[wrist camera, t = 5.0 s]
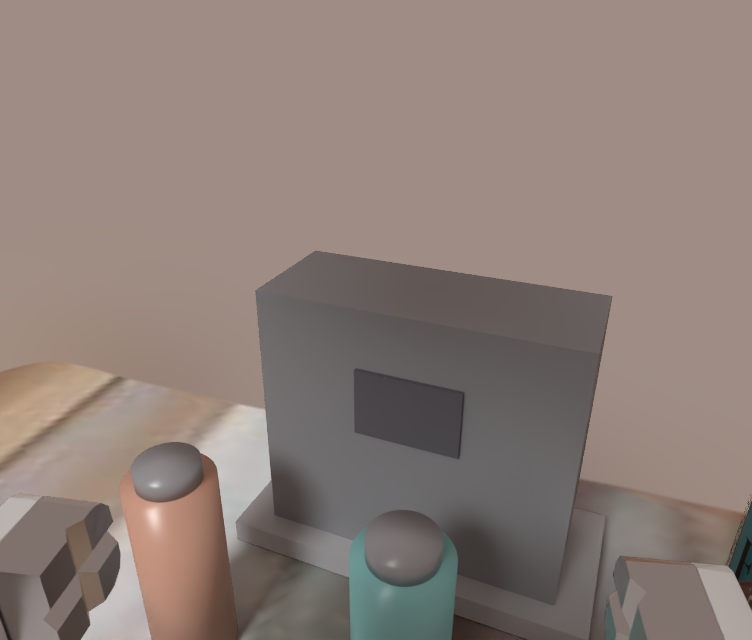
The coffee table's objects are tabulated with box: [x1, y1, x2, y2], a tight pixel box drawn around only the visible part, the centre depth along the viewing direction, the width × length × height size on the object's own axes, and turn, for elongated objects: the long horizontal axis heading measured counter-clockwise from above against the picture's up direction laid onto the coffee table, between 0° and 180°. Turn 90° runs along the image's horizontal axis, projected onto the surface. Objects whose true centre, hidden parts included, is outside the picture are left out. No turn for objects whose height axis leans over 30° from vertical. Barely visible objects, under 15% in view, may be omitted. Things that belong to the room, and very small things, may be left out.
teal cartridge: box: [349, 510, 458, 640], centre depth 29 cm, size 4×4×12 cm
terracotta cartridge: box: [119, 442, 238, 640], centre depth 33 cm, size 4×4×12 cm
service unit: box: [236, 251, 612, 640], centre depth 38 cm, size 22×10×18 cm, turn 67°
